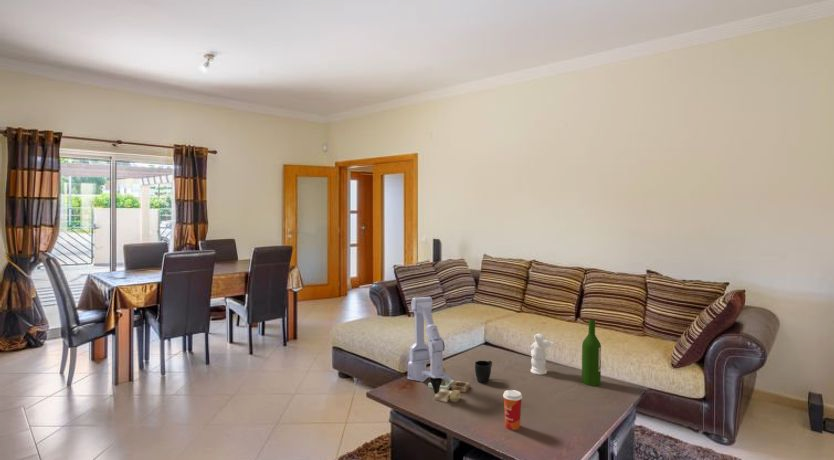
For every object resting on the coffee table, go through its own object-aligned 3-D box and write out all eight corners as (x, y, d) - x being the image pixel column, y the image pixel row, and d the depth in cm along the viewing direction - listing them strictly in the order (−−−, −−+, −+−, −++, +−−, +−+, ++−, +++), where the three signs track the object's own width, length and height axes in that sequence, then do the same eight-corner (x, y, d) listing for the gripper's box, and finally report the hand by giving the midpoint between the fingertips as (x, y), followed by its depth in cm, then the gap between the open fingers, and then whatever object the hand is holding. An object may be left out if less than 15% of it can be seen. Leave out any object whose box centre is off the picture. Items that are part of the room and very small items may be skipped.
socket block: (451, 389, 211) (451, 385, 211) (456, 384, 217) (456, 380, 217) (465, 392, 208) (465, 388, 208) (469, 386, 214) (469, 383, 214)
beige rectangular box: (434, 400, 200) (434, 395, 200) (441, 394, 207) (441, 388, 207) (446, 403, 197) (446, 397, 197) (452, 396, 205) (452, 391, 204)
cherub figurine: (534, 367, 241) (535, 328, 240) (556, 372, 234) (557, 332, 233) (526, 373, 231) (527, 333, 230) (549, 379, 224) (549, 337, 223)
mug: (498, 379, 224) (498, 361, 224) (485, 385, 215) (485, 367, 215) (484, 375, 230) (484, 357, 229) (471, 381, 221) (471, 363, 221)
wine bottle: (601, 387, 213) (602, 322, 212) (582, 384, 216) (582, 321, 215) (599, 380, 222) (600, 318, 220) (581, 378, 225) (582, 317, 223)
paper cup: (500, 422, 178) (500, 389, 177) (518, 421, 179) (518, 388, 178) (506, 432, 170) (506, 397, 170) (524, 431, 171) (525, 396, 170)
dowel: (443, 386, 214) (443, 370, 214) (437, 385, 215) (437, 369, 215) (445, 383, 217) (445, 367, 217) (439, 382, 218) (439, 367, 218)
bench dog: (450, 401, 198) (450, 393, 198) (454, 396, 203) (454, 389, 203) (456, 402, 197) (456, 394, 197) (460, 398, 202) (460, 390, 201)
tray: (428, 387, 214) (428, 384, 214) (435, 380, 223) (435, 377, 223) (446, 391, 209) (446, 387, 209) (454, 383, 218) (454, 380, 218)
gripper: (419, 365, 203) (419, 393, 204) (447, 369, 197) (447, 399, 197) (425, 360, 209) (425, 387, 210) (453, 364, 203) (453, 393, 204)
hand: (436, 392), depth 204 cm, fingers closed
